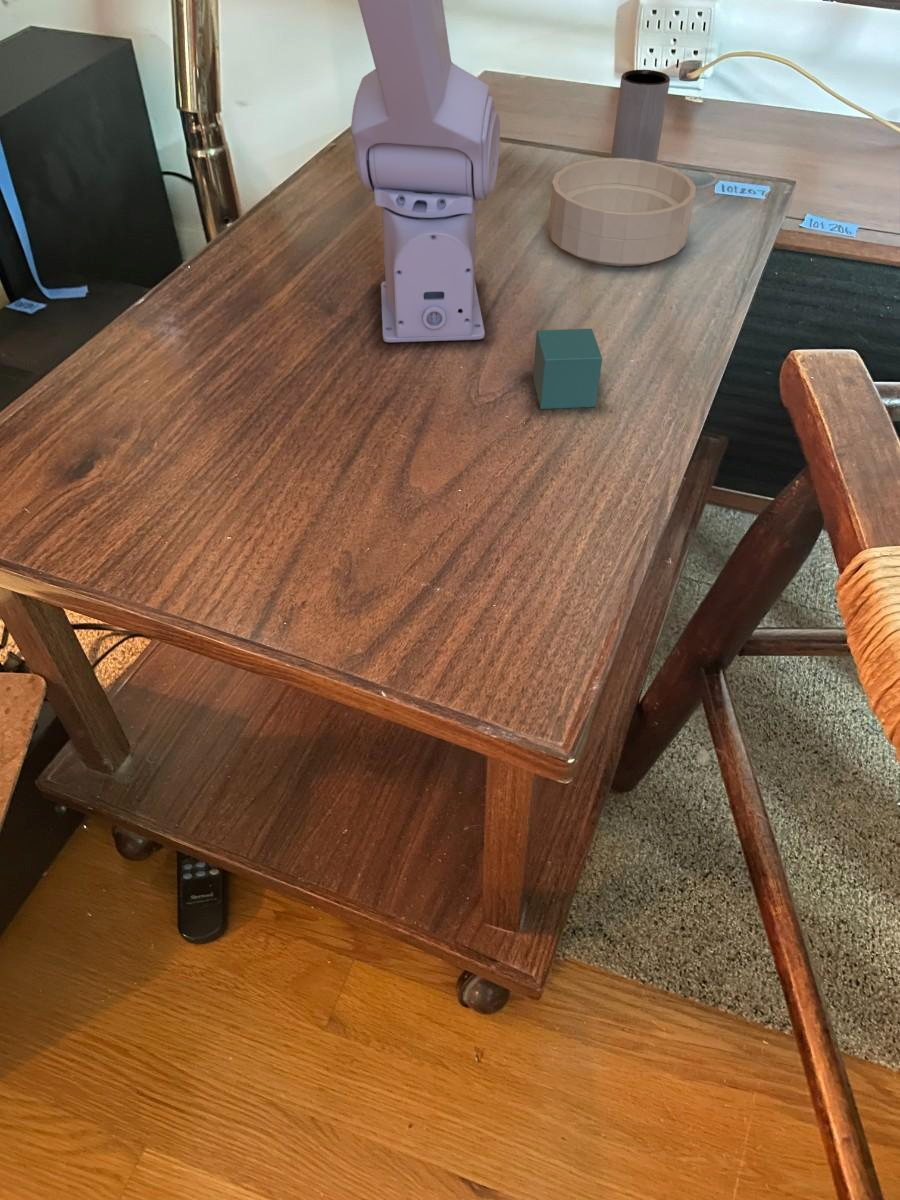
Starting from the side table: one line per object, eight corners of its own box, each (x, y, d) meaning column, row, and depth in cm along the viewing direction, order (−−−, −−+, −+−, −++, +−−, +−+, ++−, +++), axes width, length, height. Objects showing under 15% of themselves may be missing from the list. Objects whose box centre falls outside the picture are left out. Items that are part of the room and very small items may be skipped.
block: (595, 407, 63) (602, 357, 61) (540, 409, 63) (544, 359, 60) (585, 377, 66) (592, 328, 63) (532, 378, 66) (536, 329, 63)
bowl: (700, 268, 78) (712, 211, 75) (559, 273, 78) (565, 215, 74) (666, 209, 87) (675, 156, 84) (539, 213, 86) (543, 159, 83)
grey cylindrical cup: (597, 188, 91) (611, 75, 83) (627, 177, 93) (643, 66, 85) (631, 201, 88) (648, 87, 81) (660, 190, 90) (680, 77, 83)
